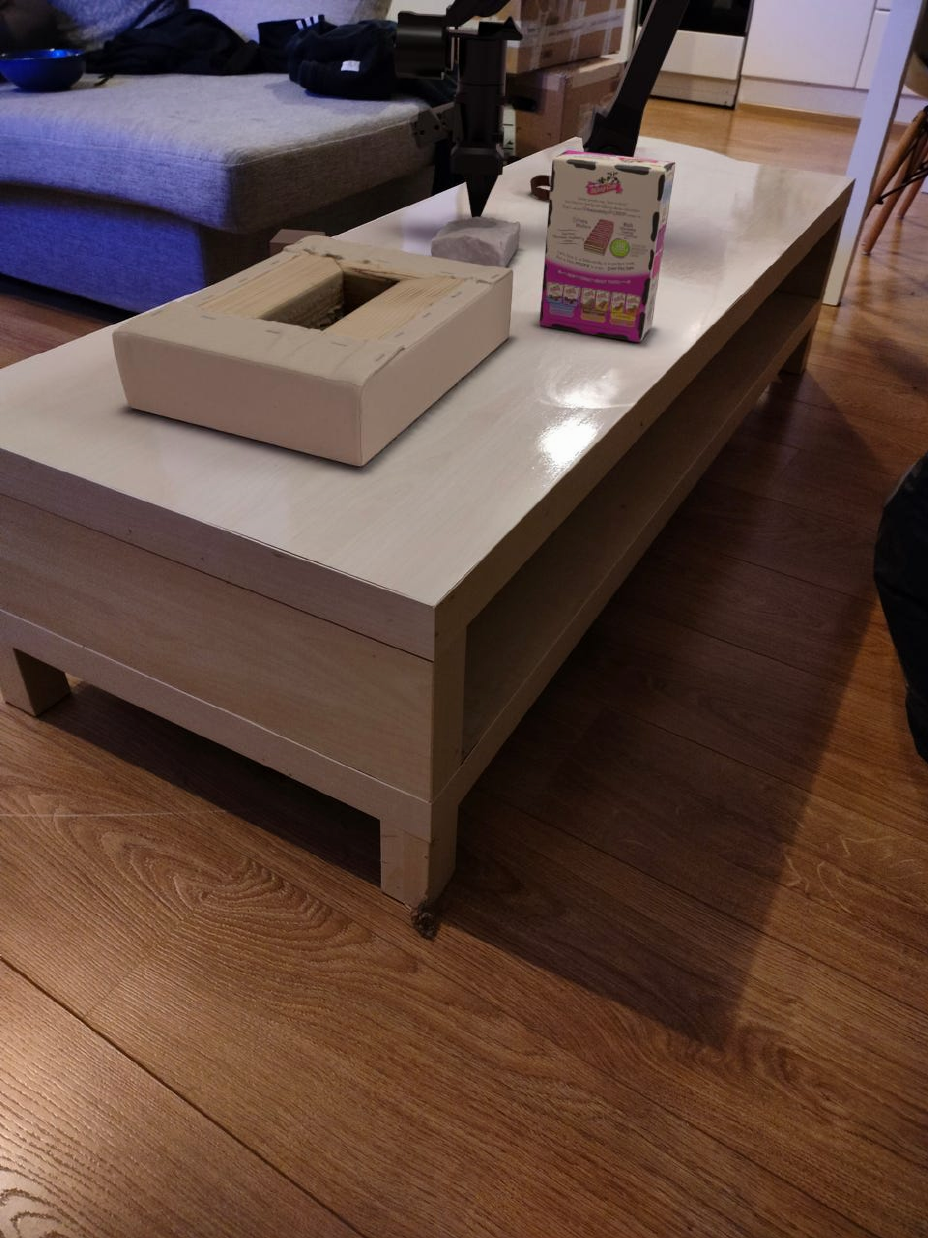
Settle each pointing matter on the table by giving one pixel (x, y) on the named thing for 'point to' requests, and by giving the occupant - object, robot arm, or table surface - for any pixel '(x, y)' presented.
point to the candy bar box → (604, 243)
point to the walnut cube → (288, 239)
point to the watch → (540, 181)
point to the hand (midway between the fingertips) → (475, 218)
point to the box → (317, 346)
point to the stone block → (477, 241)
